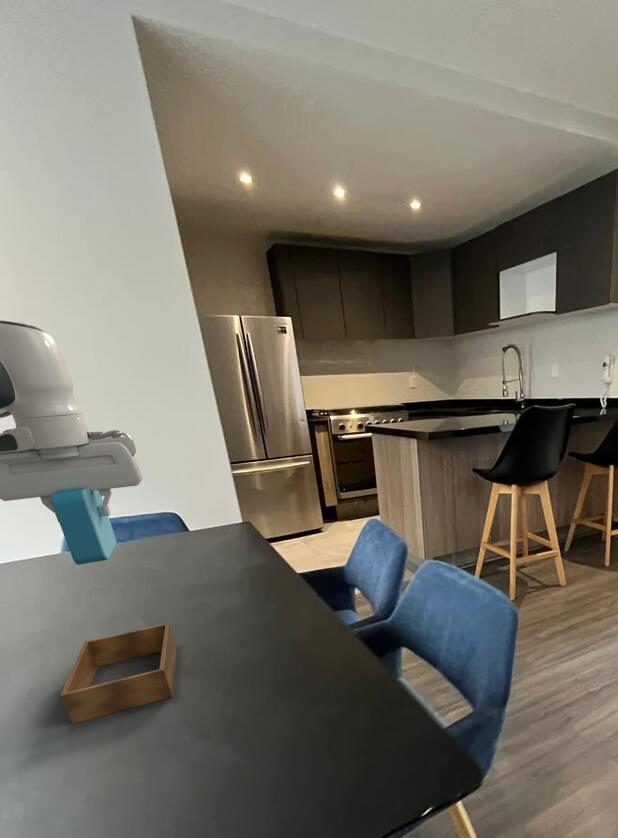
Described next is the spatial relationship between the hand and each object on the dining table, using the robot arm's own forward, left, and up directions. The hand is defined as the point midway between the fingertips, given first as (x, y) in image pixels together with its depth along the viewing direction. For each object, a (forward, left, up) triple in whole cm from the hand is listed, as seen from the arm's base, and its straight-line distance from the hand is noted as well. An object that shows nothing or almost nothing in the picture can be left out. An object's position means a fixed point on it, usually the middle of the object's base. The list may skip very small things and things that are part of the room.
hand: (85, 518), depth 84 cm
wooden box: (+2, -15, -25) cm, 29 cm away
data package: (0, 0, -7) cm, 7 cm away
